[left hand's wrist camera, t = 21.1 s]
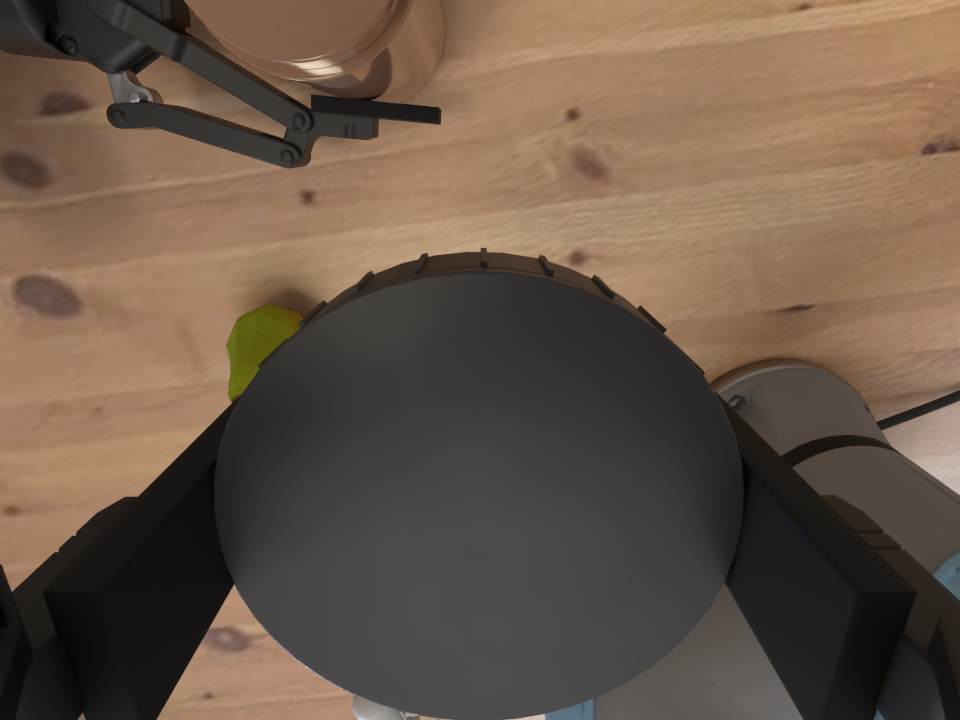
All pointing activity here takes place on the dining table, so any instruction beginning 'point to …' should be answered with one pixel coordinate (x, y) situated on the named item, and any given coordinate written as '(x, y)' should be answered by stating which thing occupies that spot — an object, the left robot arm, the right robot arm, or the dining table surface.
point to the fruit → (257, 342)
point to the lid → (478, 489)
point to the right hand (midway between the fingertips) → (445, 16)
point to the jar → (334, 42)
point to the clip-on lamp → (378, 711)
